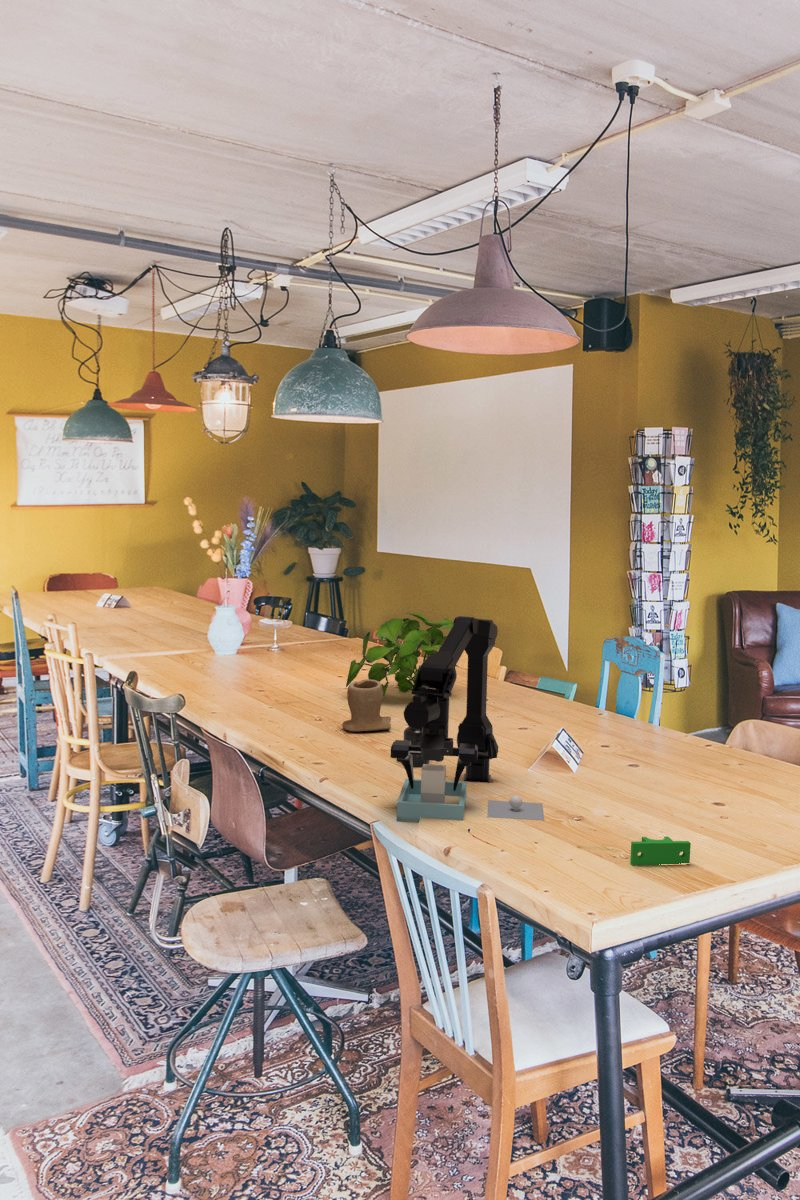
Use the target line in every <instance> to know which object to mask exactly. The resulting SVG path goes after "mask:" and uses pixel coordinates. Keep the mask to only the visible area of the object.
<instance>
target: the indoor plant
mask: <svg viewBox="0 0 800 1200" xmlns="http://www.w3.org/2000/svg"><path fill="white" fill-rule="evenodd" d="M406 615H411V616H413V617H416V618H417V619H419V620H421V621H422V622H423V623H424V624H425V625H426V626H429V627H428V628H426V629H420V628H421V627H420V621H418V620H417V619H410V618H407V617H406V618H397V617H396V618H390V619H389V620H387V621H385V622H384V623H382V624H380V627H379V629H377V631H376V632H375V635H374V636H375V637H376V638H377V639H378V640H380V641H386V642H385V644H384V645H374V646H372V647H369V648H368V644H369V639H370V634H371V632H370V631H368V632H367V634H366V635H365V637H363V640H362V650H361V655H362V659H360V661H359V662H357V661H356V659H353V660H351V662H350V665H349V670H348V675H347V680H346V685H345V688H348V687H349V685H350V684H351V683H353V682H354V680H355V679H356V678H357V676H358V675H359V673H360V671H361V669H362V668H363V667H364V665H365V666H370V668H369V671H368V674H367V678H368V679H371V680H376V681H378V682H380V683H381V681H383V679H384V680H386V682H385V684H383V683H381V685H382V689H383V697H385V696H386V692H387V689H388V687H389V686H390V687H393V685H390V682H389V680H388V676H391V675H394V680H395V682H397V688H398V690H399V691H400V692H402V693H408V692H409V691H412V689H413V685H414V682H415V679H416V676H417V673H418V670H419V667H420V666H421V665H422V664H421V665H420V664H419V665H418V663H419V662H418V661H419V660H418V658H419V657H421V655H422V652H421V651H420V650H422V651H423V652H425V653H424V656H423V659H422V663H423V662H424V661H425V660H426V659H427V657H429V656H431V655H433V654H435V653H437V652H438V650H435V649H440V647H441V645H442V644H443V642H444V640H445V639H446V637H447V635H444V632H443V631H442V630H441V629H443V630H444V629H445V630H451V628H452V627H453V623H454V620H451V619H449V618H442V619H441V622H436V621H435V622H434V621H429V619H428V618H427V617H426V616H424V615H423V614H421V613H415V612H414V613H413V612H407V613H406ZM399 640H403V641H402V643H399V644H398V642H399ZM367 648H368V649H367ZM419 649H420V650H419ZM380 659H384V660H385V661H386V662H388V663H383V662H378V661H379V660H380ZM375 661H377V662H375ZM374 662H375V663H374ZM417 665H418V668H417ZM455 667H456V668H457V667H458V668H459V665H457V664H456V666H455ZM352 681H353V682H352ZM421 687H422V688H425V687H423V686H421Z"/></svg>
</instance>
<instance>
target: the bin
mask: <svg viewBox="0 0 800 1200" xmlns="http://www.w3.org/2000/svg"><path fill="white" fill-rule="evenodd" d="M467 786H468V782H464V781H459V782H458V785H457V788H456V790H455V791H453V787H454V780H450V781H449V780H445V796H451V797H453V796H454V797H459V800H458V801H459V803H445V804H443V803H425V802H421V778H420V779H418V778H414V788H413V789H411V786H410V783H409V779H408V778H405V779H404V782H403V785H402V787H401V791H400V793H399V796H398V799H397V801H396V819H395V820H396V822H409V823H410V822H411V823H420V820H421V819H434V820H435V819H436V820H450V821H451V820H452V821H464V817H465V809H466V803H467V801H466V800H467Z"/></svg>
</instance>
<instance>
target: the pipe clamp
mask: <svg viewBox="0 0 800 1200" xmlns="http://www.w3.org/2000/svg"><path fill="white" fill-rule="evenodd" d="M663 837H664V838H663V839H652V838H649V837H647V836H641V840H640V841H631V842H630V843H631V844H630V861H629V862H630V865H631V866H632V867H637V866H636V865H659V864H660V865H661V864H679V863H680V864H681V863H690V862H691V861H690V859H691V846H692V844H691V842H690V841H689V840H673V839H671V838H670V836H663ZM639 853H640V854H639ZM681 853H682V854H681ZM638 854H639V855H638Z"/></svg>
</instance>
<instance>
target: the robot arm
mask: <svg viewBox="0 0 800 1200" xmlns="http://www.w3.org/2000/svg"><path fill="white" fill-rule="evenodd" d="M453 622H454V623H453V627H452V628H451V629H449V632H448V634H447V635H446V636H447V637H446V639H445V640H444V642H443V644H442V645H441V647H440V648H438V650H437V651H438V652H437V653H435V654H433V655H431V656H430V655H429V657H427V656H426V659H425V661H424V662H423V661H422V663H421V666H420V667H419V666H418V668H419V670H418V673H417V676H416V679H415V682H414V683H413V688H412V690H411V695H413V696H412V701H411V702H409V703H408V704H407V705H405V708H404V711H403V718H404V720H405V722H406V724H407V726H408V725H409V726H411V727H412V728H416V729H418V728H422V736H421V739H420V746H416V745H411V741H405V740H402V739H395V740H394V741H393V742H392V743H391V746H390V758H391V759H396V762H398V763H401V765H402V766H403V768H404V770H405V772H406V775H407V779H409V783H410V786H411V789H413V788H414V779H415V777H414V776H415V775H414V767H413V760H412V754H421V759H422V760H423V761H428V760H429V761H431V762H432V761H434V762H440V763H441V762H443V761H444V758H445V756H446V757H458V758H457V762H456V768H455V775H454V780H453V781H454V787H453V791H455V790H456V788H457V785H458V782H460V778H461V776H462V773H463V772H464V770H465V773H464V775H463V779H462V782H467V783H484V784H488V783H489V784H490V783H491V781H492V780H491V779H492V777H491V774H490V760H493V759H498V753H499V745H498V742H497V741H496V740H497V739H496V737H495V736H494V734H493V730H494V729H493V724H492V723H491V720H490V719H489V717H488V715H487V699H488V697H487V695H488V692H487V691H488V690H487V689H488V664H489V663H488V662H489V661H488V660H489V659H488V658H489V654H490V653H491V651H492V650H493V648H494V647H495V645H496V638H497V637H498V626H497V624H495V623H494V621H493V619H483V618H477V617H475V616H462V615H459V616H455V618H454V619H453ZM464 651H465V654H466V656H467V673H466V674H467V678H466V680H467V681H466V709H465V710H466V714H465V717H464V719H462V722H460V723H459V725H458V727H457V728H458V730H457V731H458V732H457V734H456V735H457V736H456V744H457V746H455V747H454V738H452V737H449V723H450V722H449V720H450V719H449V718H450V716H449V715H450V714H449V713H450V697H452V694H453V693H452V691H453V688H454V685H455V684H456V680H457V670H456V667H457V666H456V665H457V664H458V662H459V660H460V659H461V657H462V654H463V653H464ZM421 686H423V687H425V688H422V687H421ZM409 726H408V727H409Z"/></svg>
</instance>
